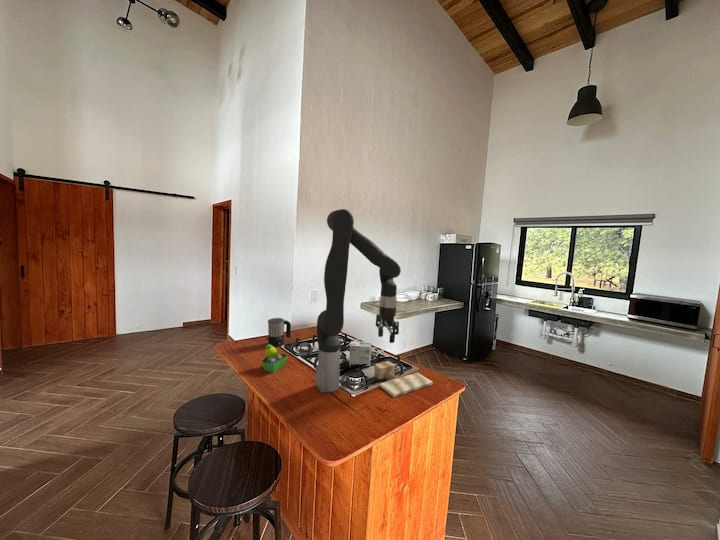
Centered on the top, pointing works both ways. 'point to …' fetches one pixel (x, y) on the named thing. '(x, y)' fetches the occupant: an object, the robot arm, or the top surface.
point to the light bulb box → (360, 353)
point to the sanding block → (384, 369)
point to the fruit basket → (273, 359)
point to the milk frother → (278, 331)
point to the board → (405, 384)
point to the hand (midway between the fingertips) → (386, 339)
